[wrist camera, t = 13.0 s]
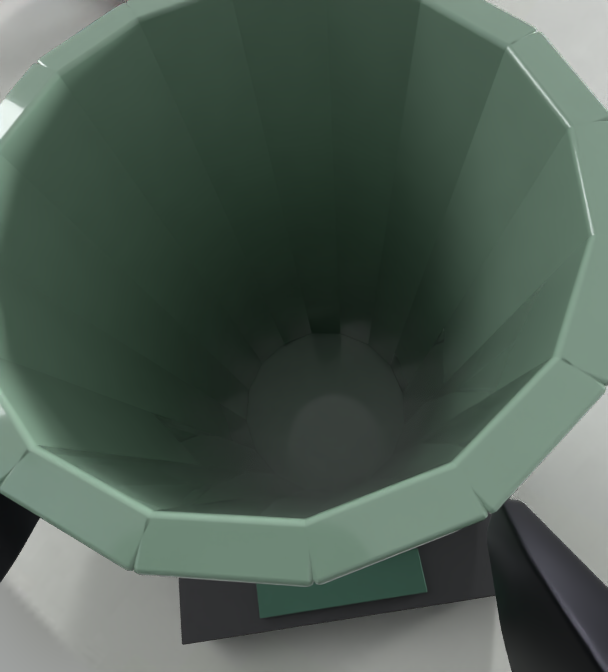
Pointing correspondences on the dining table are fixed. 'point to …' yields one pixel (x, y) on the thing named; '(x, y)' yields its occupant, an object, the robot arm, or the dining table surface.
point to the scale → (342, 591)
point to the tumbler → (295, 279)
